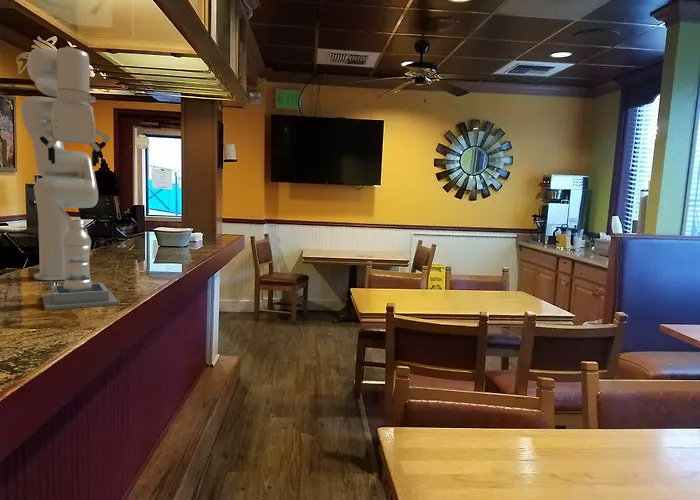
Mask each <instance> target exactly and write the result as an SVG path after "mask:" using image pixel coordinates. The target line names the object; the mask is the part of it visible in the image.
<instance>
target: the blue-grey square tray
mask: <svg viewBox="0 0 700 500" xmlns="http://www.w3.org/2000/svg"><path fill="white" fill-rule="evenodd" d="M42 301H43V302H42V303H43V306H44V310H45V311H51V310H52V311H53V310H66V309H67V310H68V309H69V310H70V309H80V307H82V308H93V307H104V306H105V307H106V306H107V307H108V306H118V305H120V303H119V300H118V299H117V297H116V296H115V295H114V294H113V292H112V291H111V290H110V289H108V288H107V287H106V286H105V284H104V283H103V282H96V283H95V282H94V283H93V282H92V291H88V292H72V293H64V284H60V285H59V284H56V285H51V293H42Z"/></svg>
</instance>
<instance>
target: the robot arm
mask: <svg viewBox="0 0 700 500" xmlns="http://www.w3.org/2000/svg"><path fill="white" fill-rule="evenodd" d="M26 69H27V74H28V75H29V78H30V80H31V81H32V82H34V84H35V87H36V89H38V91H39V92H40V93H42V94H44V95H46V96H47V97H46V96H35V95H33V96H28V97H25V98H24V99H23V100H22V101H21V105H20V113H21V114H20V115H21V118H22V121H23V125H24V127H25V130H26V132H27V134H28V136H29V137H30V140H31V141H32V144H33V145H32V146H33V153H34V159H35V167H36V169H37V170H36V171H37V172H38V174H39V175H40V176H41V178H38V179H37V180H36V181H35V183H34V187H33V191H34V192H33V194H34V197H35V202H36V208H37V219H38V247H39V249H38V251H39V252H38V253H39V255H38V256H39V272H37V273H34V274H33V278H34V279H35V280H40V281H65V274H66V261H65V253H64V247H63V238H64V236H65V235H66V233H67V232H68V231H69V229H70V227H68V225H69V220H73V219H72V217H71V216H70V215H69V214H68V213H67V212H66V211H65V209H89V208H90V209H91V208H94V207H95V206H96V205H97V204H98V201H99V189H98V184H97V179H96V173H95V169H94V167H97V164H99V161H100V160H99V159H100V158H99V157H100V155H99V153H100V151H101V150H103V148H104V147H106V145H107V144H108V142H109V141H110V139H111V137H110V135H108V134H106V133H105V132H103V131H102V130H100V129H98V128H96V122H95V113H94V107H93V106H92V105H90V104H91V103H96V100H97V99H96V97H95V96H92V94H91V93H90V78H91V72H92V70H91V65H90V56H89V54H88V53H87V52H85V51H84V50H82V49H78V48H71V47H60V48H58V49H57V50H55V49H50V48H49V49H47V48H41V47H37V48H33V49H32V50H31V51H30V53H29V54H28V57H27V61H26ZM54 97H55V98H54ZM96 135H97V136H99V137H100V138H102V140H101V142H100V143H99V144H97V143H96ZM64 143H73V144H86V145H89V146H90V147H91V148H92V151H91V157H90V154H88V153H87V152H84V151H77V150H69V149H68V150H67V149H65V146H64Z"/></svg>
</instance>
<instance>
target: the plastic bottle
mask: <svg viewBox="0 0 700 500" xmlns="http://www.w3.org/2000/svg"><path fill="white" fill-rule="evenodd" d="M68 227H70V229H69V231H68V232H67V233H66V235H65V236H64V238H63V247H64V253H65V261H66V274H65V280H64V283H63V285H64V293H72V292H88V291H92V283H93V282H92V279H91V270H90V255H91V254H90V252H91V246H92V240H91V239H92V238H91V236H90V235H89V234H88V232H87V231H86V230H85V228H86V220H85V219H72V220H69V225H68Z"/></svg>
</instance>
